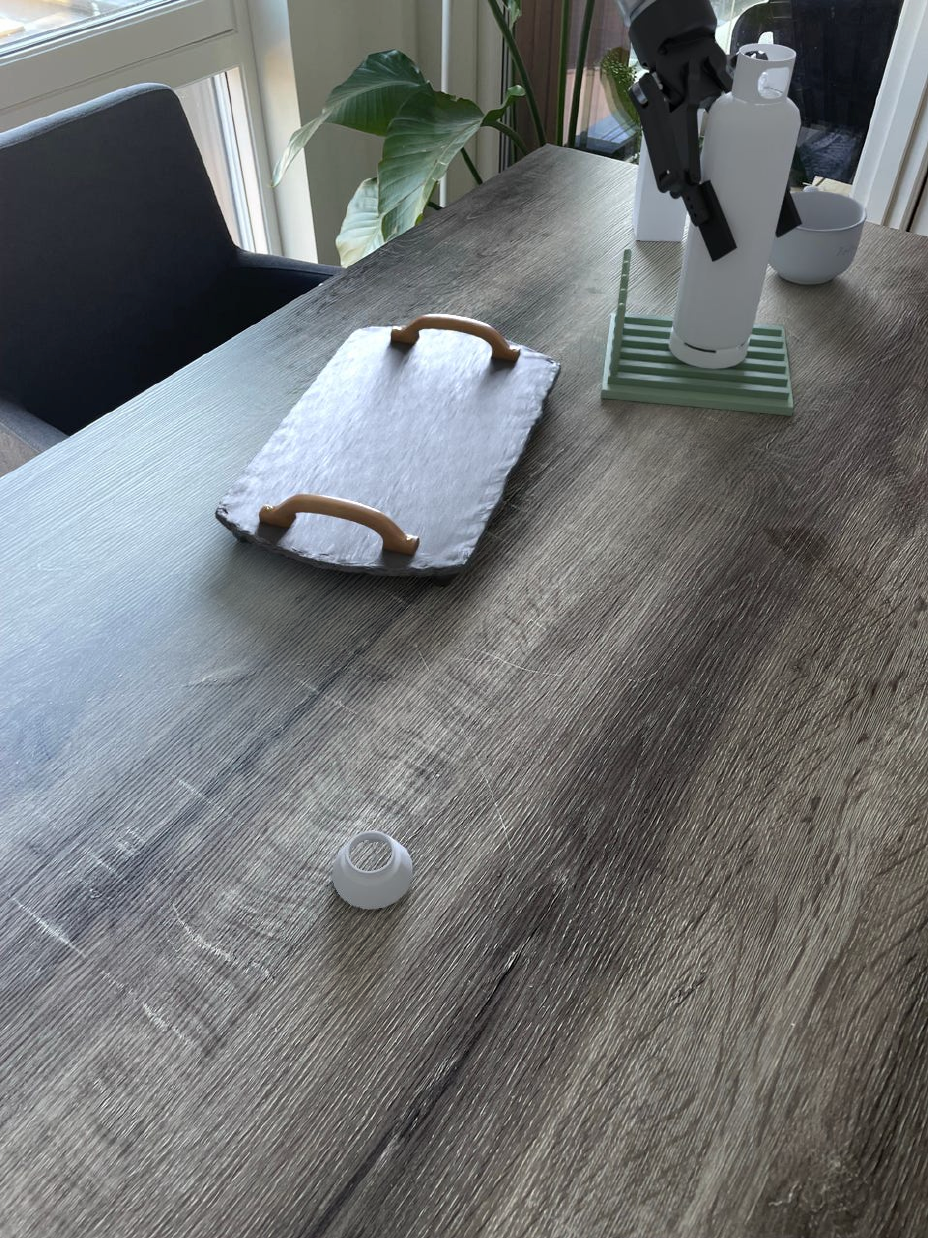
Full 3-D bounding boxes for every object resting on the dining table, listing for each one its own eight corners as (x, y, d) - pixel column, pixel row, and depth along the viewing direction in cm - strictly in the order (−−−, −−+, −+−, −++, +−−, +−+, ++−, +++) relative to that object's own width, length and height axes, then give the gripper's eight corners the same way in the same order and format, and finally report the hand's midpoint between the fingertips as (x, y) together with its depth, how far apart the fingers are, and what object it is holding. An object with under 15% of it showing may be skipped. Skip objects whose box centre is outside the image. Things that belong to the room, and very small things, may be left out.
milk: (676, 222, 131) (707, 33, 115) (682, 242, 127) (715, 49, 111) (630, 220, 131) (654, 32, 115) (634, 241, 127) (660, 48, 111)
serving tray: (366, 336, 110) (362, 283, 105) (571, 371, 105) (576, 317, 101) (196, 560, 84) (182, 502, 80) (458, 621, 79) (458, 562, 75)
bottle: (688, 373, 101) (746, 71, 81) (656, 333, 106) (702, 41, 86) (760, 362, 102) (835, 62, 83) (724, 323, 108) (786, 33, 88)
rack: (782, 335, 110) (803, 253, 104) (791, 416, 99) (815, 330, 93) (610, 320, 113) (619, 239, 106) (600, 398, 101) (610, 313, 95)
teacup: (845, 300, 116) (865, 233, 110) (750, 285, 118) (765, 219, 113) (852, 249, 125) (871, 185, 120) (765, 237, 128) (779, 173, 122)
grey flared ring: (411, 840, 65) (334, 844, 65) (409, 814, 63) (330, 819, 63) (414, 910, 62) (332, 915, 61) (412, 885, 59) (328, 890, 59)
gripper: (718, 14, 99) (803, 231, 101) (554, 51, 90) (652, 288, 93) (770, -38, 92) (861, 197, 94) (599, -2, 83) (703, 255, 86)
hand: (757, 242), depth 93 cm, fingers closed on bottle, 8 cm apart
